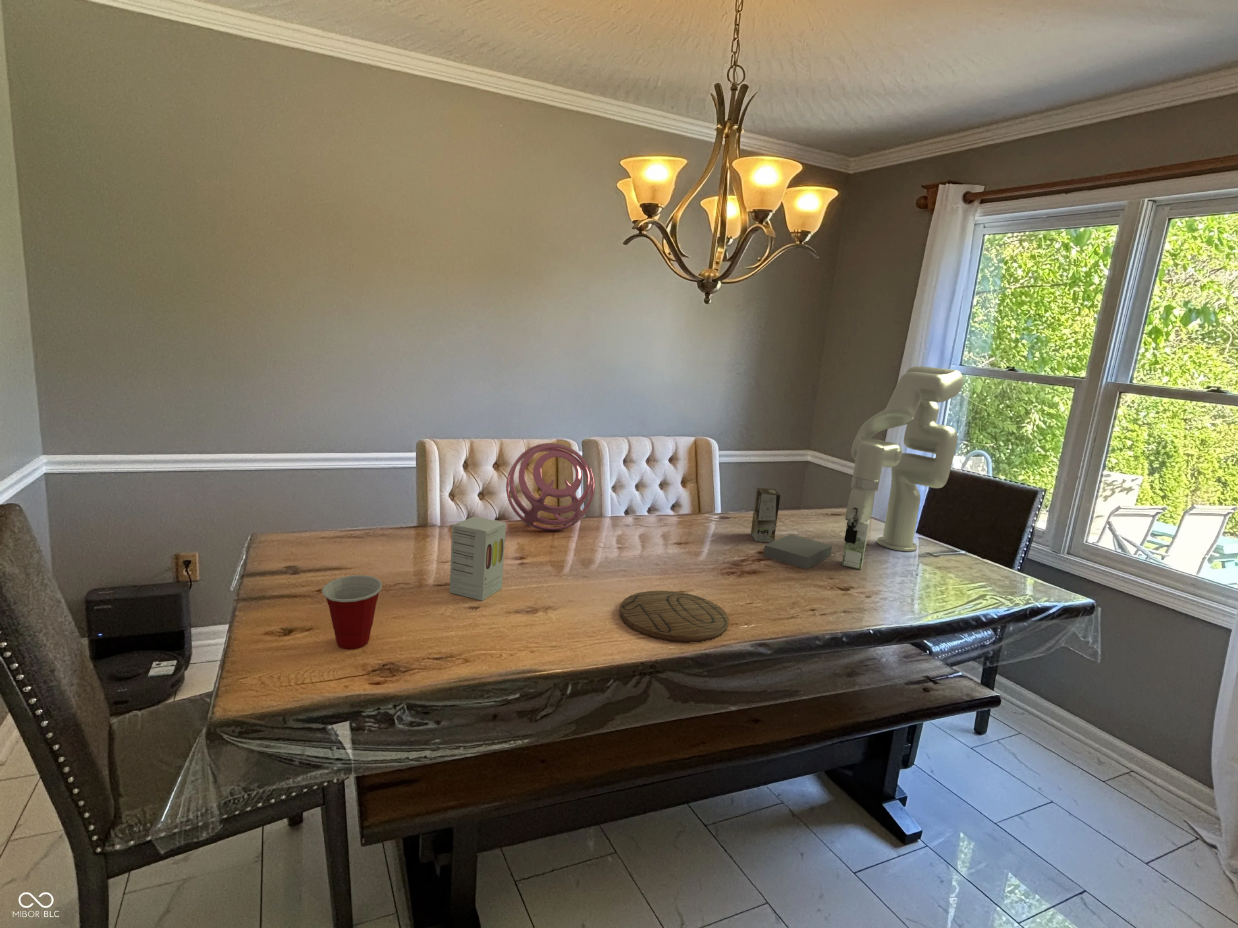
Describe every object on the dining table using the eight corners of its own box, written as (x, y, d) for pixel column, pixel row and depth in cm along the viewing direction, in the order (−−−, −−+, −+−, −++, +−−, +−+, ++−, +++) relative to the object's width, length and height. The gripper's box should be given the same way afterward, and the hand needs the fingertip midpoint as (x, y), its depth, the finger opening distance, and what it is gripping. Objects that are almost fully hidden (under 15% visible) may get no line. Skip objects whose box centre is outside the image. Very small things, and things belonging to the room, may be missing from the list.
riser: (789, 545, 221) (790, 534, 220) (830, 557, 212) (832, 545, 212) (762, 557, 207) (764, 545, 206) (806, 570, 199) (807, 557, 198)
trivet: (648, 650, 141) (649, 641, 140) (602, 602, 163) (603, 594, 163) (749, 637, 151) (750, 629, 151) (693, 594, 173) (694, 587, 173)
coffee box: (774, 543, 221) (781, 495, 218) (754, 541, 221) (761, 493, 218) (769, 534, 230) (775, 488, 227) (750, 533, 230) (756, 486, 227)
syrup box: (863, 564, 207) (870, 518, 204) (861, 570, 202) (868, 523, 199) (843, 560, 209) (850, 515, 206) (841, 566, 204) (848, 519, 201)
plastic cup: (308, 647, 129) (308, 588, 127) (349, 626, 139) (350, 570, 137) (354, 661, 126) (355, 600, 123) (393, 638, 136) (394, 582, 133)
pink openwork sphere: (514, 451, 232) (526, 417, 208) (591, 475, 237) (612, 445, 213) (491, 527, 220) (501, 500, 196) (573, 551, 225) (593, 527, 201)
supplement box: (482, 601, 157) (485, 531, 153) (448, 593, 160) (450, 524, 156) (503, 588, 166) (506, 521, 162) (470, 580, 169) (473, 515, 165)
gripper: (862, 478, 209) (853, 531, 212) (841, 484, 196) (832, 541, 199) (887, 483, 205) (877, 538, 208) (868, 489, 191) (857, 548, 194)
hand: (855, 539), depth 203 cm, fingers open, 9 cm apart
